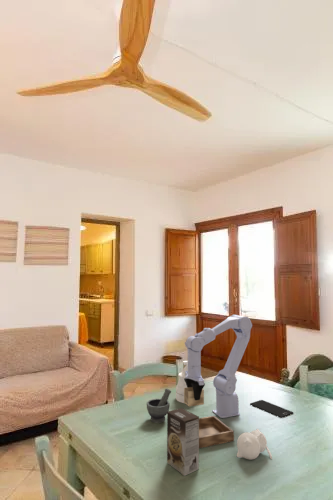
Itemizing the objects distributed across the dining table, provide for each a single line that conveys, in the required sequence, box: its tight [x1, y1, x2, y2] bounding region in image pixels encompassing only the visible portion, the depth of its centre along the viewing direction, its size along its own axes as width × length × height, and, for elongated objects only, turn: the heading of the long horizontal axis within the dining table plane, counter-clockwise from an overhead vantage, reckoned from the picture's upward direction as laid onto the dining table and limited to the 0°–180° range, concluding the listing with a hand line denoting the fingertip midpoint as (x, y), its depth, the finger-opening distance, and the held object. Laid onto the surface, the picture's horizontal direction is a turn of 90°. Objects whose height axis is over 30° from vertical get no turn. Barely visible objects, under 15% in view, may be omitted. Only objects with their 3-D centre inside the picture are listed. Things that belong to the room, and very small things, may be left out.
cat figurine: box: [236, 428, 273, 460], centre depth 109 cm, size 9×11×12 cm
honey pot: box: [175, 360, 188, 404], centre depth 162 cm, size 13×13×18 cm
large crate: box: [199, 415, 235, 449], centre depth 123 cm, size 15×15×4 cm
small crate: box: [183, 387, 205, 408], centre depth 139 cm, size 7×5×6 cm
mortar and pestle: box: [146, 388, 172, 424], centre depth 138 cm, size 11×9×12 cm
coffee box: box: [166, 407, 200, 477], centre depth 104 cm, size 9×6×16 cm
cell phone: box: [249, 399, 294, 419], centre depth 149 cm, size 9×18×1 cm, turn 34°
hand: (194, 397), depth 139 cm, fingers closed on small crate, 5 cm apart
